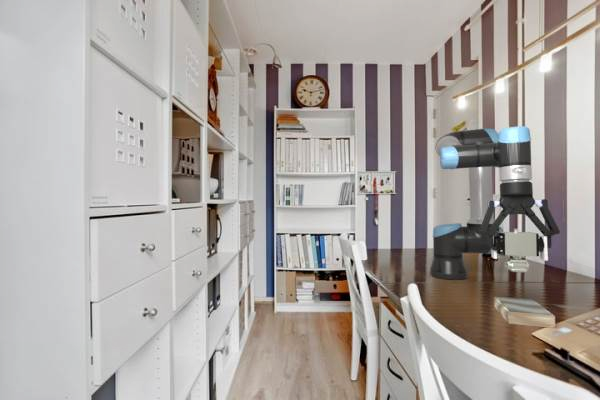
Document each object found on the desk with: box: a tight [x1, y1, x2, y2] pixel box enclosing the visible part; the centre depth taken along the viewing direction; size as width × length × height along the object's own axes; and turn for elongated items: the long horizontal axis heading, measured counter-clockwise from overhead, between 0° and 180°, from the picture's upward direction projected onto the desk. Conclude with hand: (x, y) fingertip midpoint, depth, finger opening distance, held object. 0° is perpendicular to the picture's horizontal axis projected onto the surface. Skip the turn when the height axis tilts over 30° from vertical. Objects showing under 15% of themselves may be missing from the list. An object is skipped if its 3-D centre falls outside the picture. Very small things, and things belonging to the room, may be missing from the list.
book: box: [493, 296, 556, 328], centre depth 83 cm, size 14×10×3 cm
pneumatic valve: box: [491, 228, 544, 273], centre depth 84 cm, size 6×12×12 cm, turn 78°
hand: (518, 258), depth 83 cm, fingers closed on pneumatic valve, 11 cm apart
